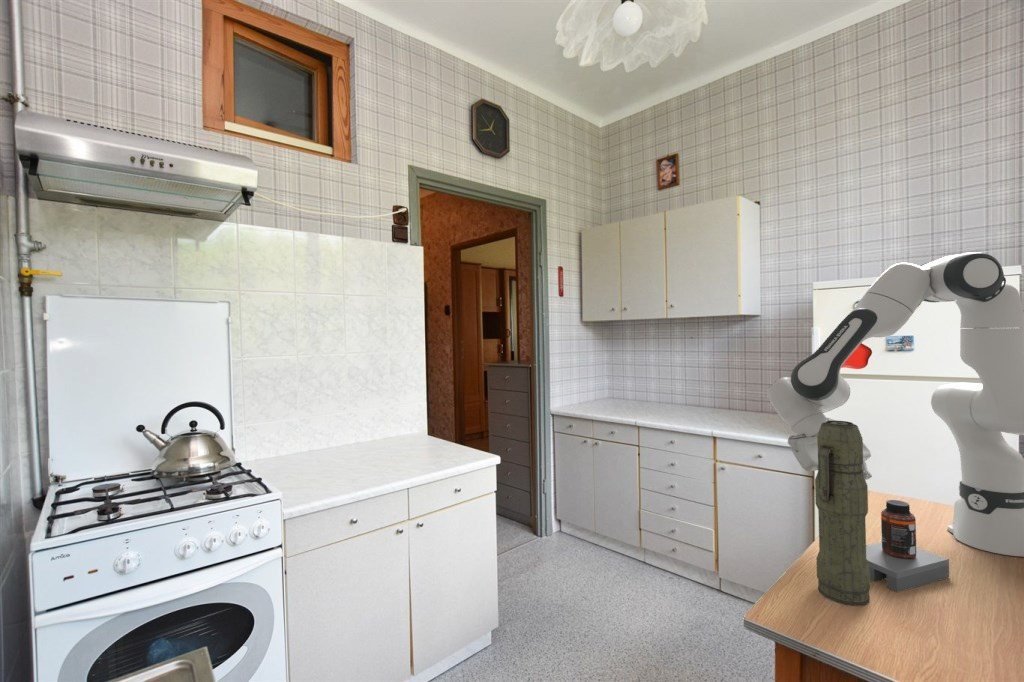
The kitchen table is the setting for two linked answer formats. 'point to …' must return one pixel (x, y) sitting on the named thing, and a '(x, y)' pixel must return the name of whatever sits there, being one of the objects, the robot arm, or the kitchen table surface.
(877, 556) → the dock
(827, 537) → the thermos
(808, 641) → the kitchen table surface
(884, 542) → the supplement bottle
